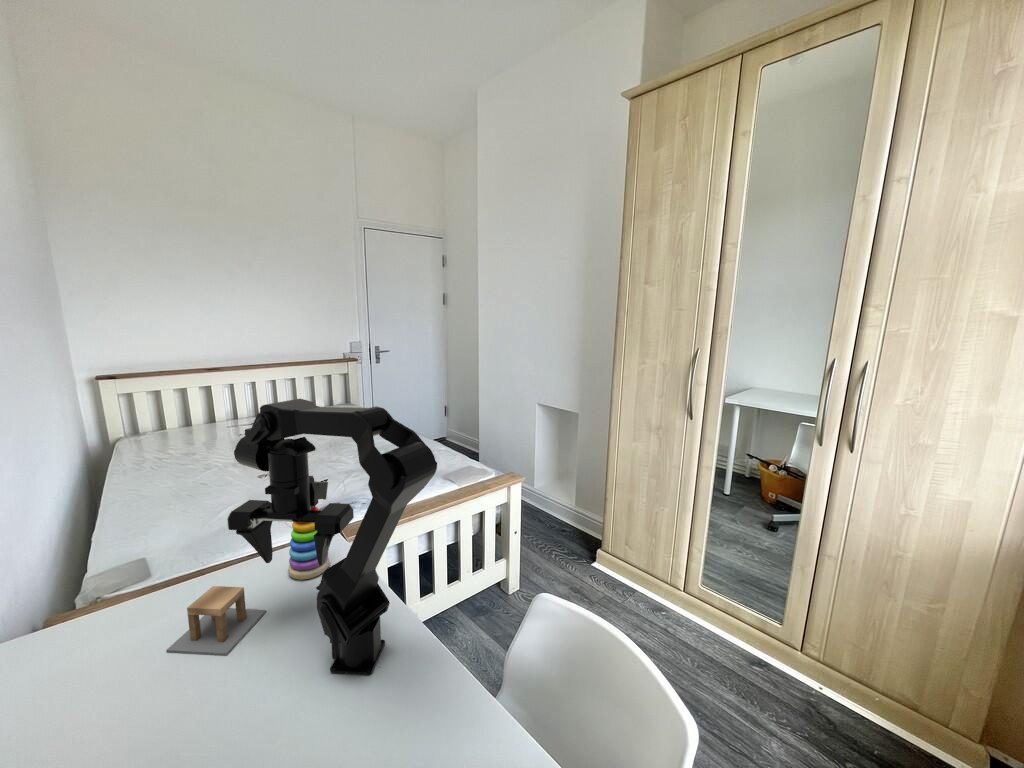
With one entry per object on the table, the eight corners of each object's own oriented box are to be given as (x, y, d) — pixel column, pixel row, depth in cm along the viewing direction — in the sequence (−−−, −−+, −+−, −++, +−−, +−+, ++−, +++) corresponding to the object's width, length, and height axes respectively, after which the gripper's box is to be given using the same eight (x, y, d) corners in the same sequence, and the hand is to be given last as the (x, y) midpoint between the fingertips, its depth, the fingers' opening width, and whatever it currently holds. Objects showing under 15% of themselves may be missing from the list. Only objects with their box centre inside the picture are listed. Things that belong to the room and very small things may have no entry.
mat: (266, 611, 76) (266, 609, 76) (226, 655, 66) (226, 653, 66) (213, 609, 76) (213, 607, 76) (166, 652, 66) (166, 650, 66)
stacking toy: (280, 574, 87) (273, 489, 84) (313, 555, 94) (308, 476, 91) (304, 586, 83) (298, 498, 80) (337, 565, 90) (333, 484, 87)
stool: (246, 618, 74) (243, 587, 73) (223, 642, 68) (220, 609, 67) (216, 616, 74) (212, 585, 73) (190, 640, 68) (186, 607, 67)
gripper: (364, 461, 76) (367, 540, 78) (265, 457, 77) (271, 536, 79) (336, 485, 65) (340, 576, 67) (220, 481, 66) (229, 571, 68)
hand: (295, 563), depth 71 cm, fingers open, 9 cm apart
